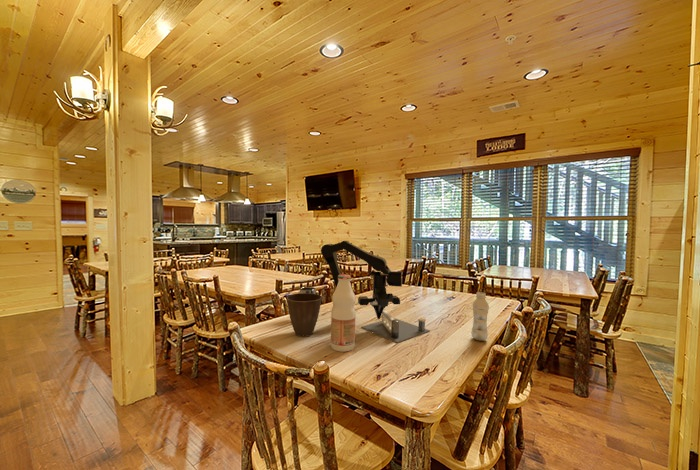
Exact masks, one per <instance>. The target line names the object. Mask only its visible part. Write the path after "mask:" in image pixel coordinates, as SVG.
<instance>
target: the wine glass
mask: <svg viewBox="0 0 700 470" xmlns="http://www.w3.org/2000/svg"><path fill="white" fill-rule="evenodd" d="M300 293H311V294H316V287H314V286H303V287H300V288H299V294H300Z"/></svg>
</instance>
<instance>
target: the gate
mask: <svg viewBox="0 0 700 470" xmlns="http://www.w3.org/2000/svg"><path fill="white" fill-rule="evenodd" d="M394 318H395V317H393V316H392V315H391V314H390V312H388V311H387V310H386V309H384V310H383V312H382V314H381V321H382V323H383V324H384V326H385V327H386V328H387V329H388V330H389V332H390V333H391V334H392V320H395V319H394ZM388 320H389V323H388Z"/></svg>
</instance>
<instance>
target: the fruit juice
mask: <svg viewBox="0 0 700 470" xmlns="http://www.w3.org/2000/svg"><path fill="white" fill-rule="evenodd" d="M351 278H352V277H351V275H350V274H342V275H338V280H339V282H338V284H337V287H336V286H335V290H334V293H333V294H332V296H331V302H332V308H331V312H330V318H331V319H330V347H331V349H332V350H334V351H336V352H341V353H342V352H350V351H352V350H354V349H355V346H356V316H357V315H356V308H355V304H356V294H355V293H354V290H353V288H352V284H351Z"/></svg>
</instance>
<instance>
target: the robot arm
mask: <svg viewBox="0 0 700 470" xmlns="http://www.w3.org/2000/svg"><path fill="white" fill-rule="evenodd" d="M343 250H344V251H346V252H348V253H349V254H352V255H353V256H356V257H357V258H358V259H361V260H362V261H363V262H365V263H367V264H368V266H369V267H371V268H372V270H371V271H370V272H369V274H368V276H373V277H372V278H373V279H372V295H371V296H372V297H370V298H369V297H368V296H366V295H364V296H363V295H361V296H358V297H357V303H358V305H360V306H368V305H369V304H370V305H371V307H372V308H373V310H374V312H375V315H376V318H377V319H378V320H380V318H382V312H383V310H385V308H386V307H388V306H389V303H392V304H393V305H400V304H401V298H400V297H398V296H397V295H394V294H393V293H392V292H391V293H387V287H386V285H388V286H389V287H398V288H399V287H403V274H402V271H401V270H398V271H397V270H395V271H393V270H392V271H391V269H390V268H389V266H388V265H387V264H388V263H387V260H386V258H384V257H381V256H379V255H376V254H371V253H369V252H367V251H366V250H363V249H362V248H360V247H358V246H357V245H355V244H353V243H352V242H350V241H348V240H342V241H341V242H337V243H335V244H333V243H328V244H324V245H323V246H321V247H320V253H321V255H322V257H323V259H324V260H325V262H326V263H327V264H328V266H329V270H330V274H331V276H332V281H333V282H334V283H333V284H334V286H335V288H336V287H337V284H338V282H339V280H338V275H343V274H342V271H341V268H340V266H339V262H338V252H340V251H343Z"/></svg>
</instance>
